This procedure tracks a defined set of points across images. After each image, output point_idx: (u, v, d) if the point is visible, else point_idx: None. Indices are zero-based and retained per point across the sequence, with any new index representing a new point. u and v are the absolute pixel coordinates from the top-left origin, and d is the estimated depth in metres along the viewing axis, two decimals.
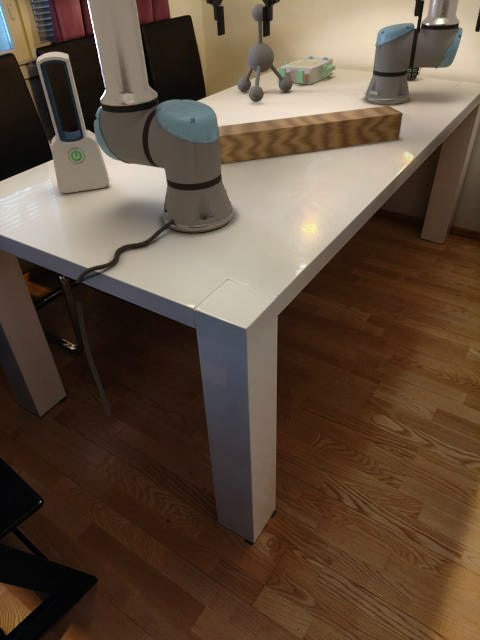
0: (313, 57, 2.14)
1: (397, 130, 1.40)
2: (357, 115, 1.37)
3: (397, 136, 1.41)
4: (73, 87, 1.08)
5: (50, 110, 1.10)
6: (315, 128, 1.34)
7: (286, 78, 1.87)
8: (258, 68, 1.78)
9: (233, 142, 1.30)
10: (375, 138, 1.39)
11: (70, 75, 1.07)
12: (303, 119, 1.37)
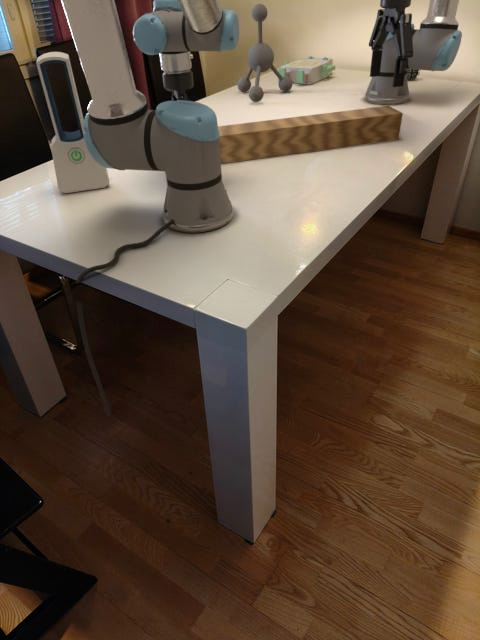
0: (313, 57, 2.14)
1: (397, 130, 1.40)
2: (357, 114, 1.37)
3: (397, 136, 1.41)
4: (73, 87, 1.08)
5: (50, 110, 1.10)
6: (315, 128, 1.34)
7: (286, 78, 1.87)
8: (258, 68, 1.78)
9: (233, 142, 1.30)
10: (375, 138, 1.39)
11: (70, 75, 1.07)
12: (303, 119, 1.37)
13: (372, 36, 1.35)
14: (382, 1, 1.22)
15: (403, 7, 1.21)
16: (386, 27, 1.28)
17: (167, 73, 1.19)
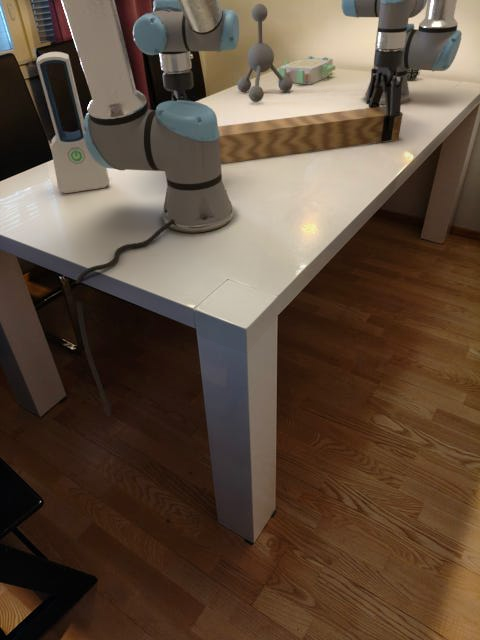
0: (313, 57, 2.14)
1: (397, 130, 1.40)
2: (357, 114, 1.37)
3: (397, 136, 1.41)
4: (73, 87, 1.08)
5: (50, 110, 1.10)
6: (315, 128, 1.34)
7: (286, 78, 1.87)
8: (258, 68, 1.78)
9: (233, 142, 1.30)
10: (375, 138, 1.39)
11: (70, 75, 1.07)
12: (303, 119, 1.37)
13: (369, 94, 1.43)
14: (375, 60, 1.31)
15: (395, 67, 1.29)
16: (379, 83, 1.36)
17: (167, 73, 1.19)
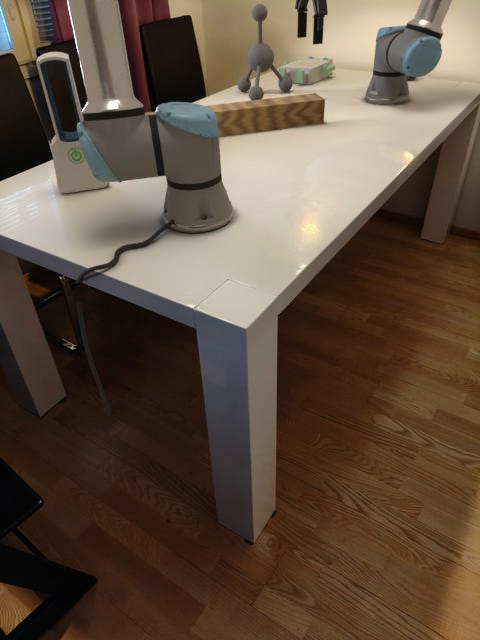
0: (313, 57, 2.14)
1: (321, 115, 1.55)
2: (285, 101, 1.53)
3: (322, 120, 1.56)
4: (73, 87, 1.08)
5: (50, 110, 1.10)
6: (245, 113, 1.49)
7: (286, 78, 1.87)
8: (258, 68, 1.78)
9: None
10: (302, 122, 1.55)
11: (70, 75, 1.07)
12: (236, 104, 1.52)
13: None
14: None
15: None
16: None
17: None
